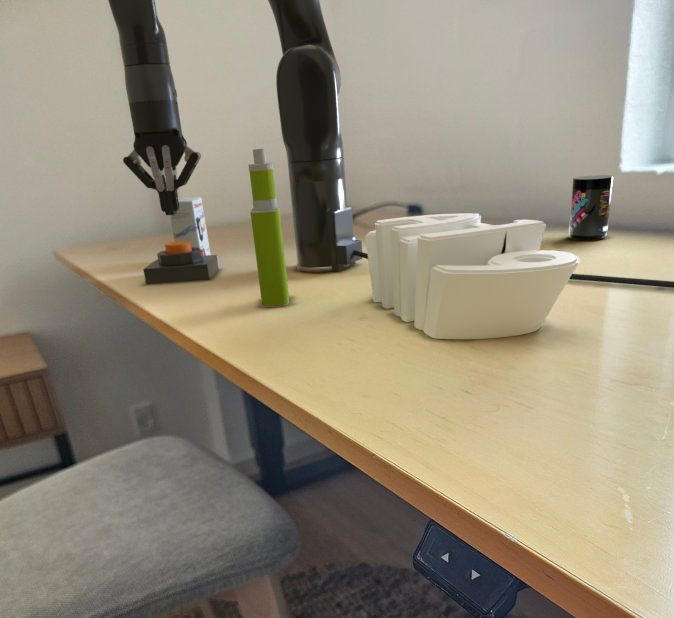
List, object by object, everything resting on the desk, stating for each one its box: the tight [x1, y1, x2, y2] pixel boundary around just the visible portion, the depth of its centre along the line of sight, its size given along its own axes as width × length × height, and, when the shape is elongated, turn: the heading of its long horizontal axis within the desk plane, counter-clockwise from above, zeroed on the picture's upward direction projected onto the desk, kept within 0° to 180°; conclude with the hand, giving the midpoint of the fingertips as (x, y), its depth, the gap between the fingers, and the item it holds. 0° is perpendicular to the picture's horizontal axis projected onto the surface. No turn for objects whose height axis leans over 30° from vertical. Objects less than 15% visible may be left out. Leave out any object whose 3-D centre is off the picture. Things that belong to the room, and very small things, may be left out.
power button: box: [164, 241, 192, 254], centre depth 114 cm, size 4×4×2 cm
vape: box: [248, 148, 290, 308], centre depth 90 cm, size 4×6×20 cm, turn 2°
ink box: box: [169, 196, 212, 256], centre depth 126 cm, size 9×5×12 cm, turn 179°
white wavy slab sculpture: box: [364, 212, 581, 340], centre depth 81 cm, size 35×16×10 cm, turn 14°
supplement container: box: [568, 174, 614, 242], centre depth 119 cm, size 7×7×10 cm
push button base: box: [143, 247, 220, 285], centre depth 115 cm, size 11×9×4 cm
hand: (171, 214), depth 111 cm, fingers closed
